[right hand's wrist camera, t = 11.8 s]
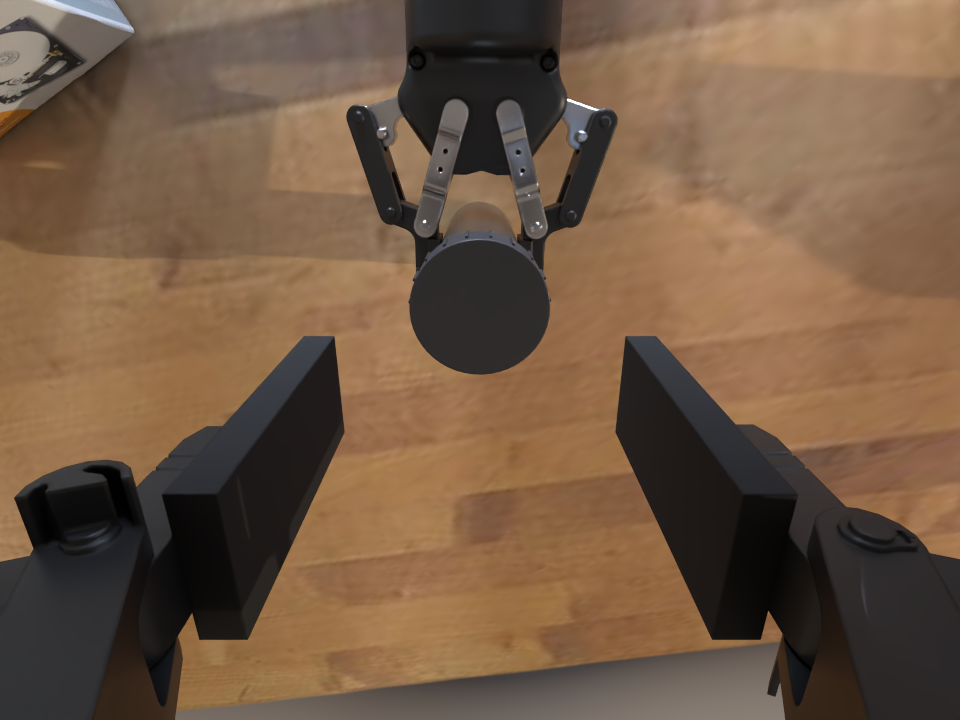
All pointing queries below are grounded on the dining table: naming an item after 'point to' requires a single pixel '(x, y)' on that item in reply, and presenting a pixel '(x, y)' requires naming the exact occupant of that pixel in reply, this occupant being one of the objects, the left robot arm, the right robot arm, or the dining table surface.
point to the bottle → (479, 220)
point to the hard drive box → (51, 48)
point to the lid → (479, 303)
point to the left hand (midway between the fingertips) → (479, 299)
